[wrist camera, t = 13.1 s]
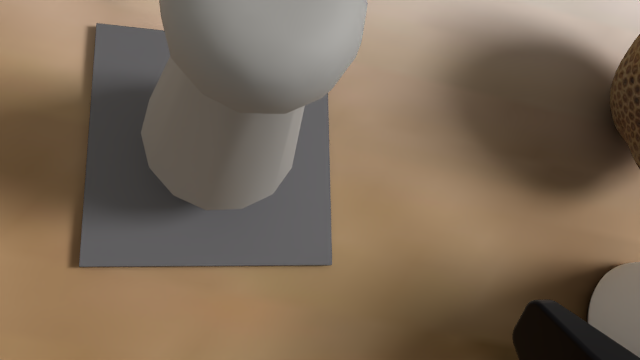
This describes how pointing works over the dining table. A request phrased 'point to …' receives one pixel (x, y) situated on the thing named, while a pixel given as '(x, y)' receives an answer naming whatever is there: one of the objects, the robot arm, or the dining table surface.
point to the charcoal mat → (172, 212)
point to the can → (618, 306)
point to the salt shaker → (242, 91)
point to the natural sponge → (628, 99)
